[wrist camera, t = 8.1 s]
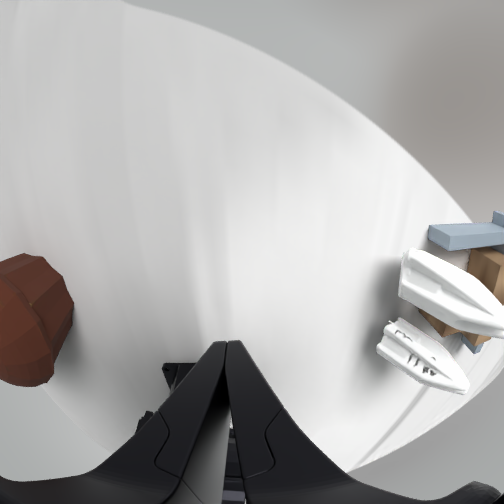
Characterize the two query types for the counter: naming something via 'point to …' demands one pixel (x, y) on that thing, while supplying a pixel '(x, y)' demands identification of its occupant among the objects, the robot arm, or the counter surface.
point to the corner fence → (470, 242)
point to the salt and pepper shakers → (445, 309)
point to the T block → (490, 275)
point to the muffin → (31, 319)
